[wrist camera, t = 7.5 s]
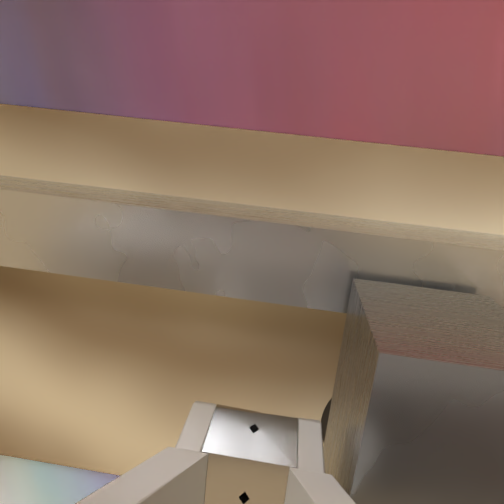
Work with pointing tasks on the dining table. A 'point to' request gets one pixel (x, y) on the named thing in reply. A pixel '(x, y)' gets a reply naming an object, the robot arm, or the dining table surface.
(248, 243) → the trammel bar
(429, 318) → the block
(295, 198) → the hole board
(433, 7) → the dining table surface
